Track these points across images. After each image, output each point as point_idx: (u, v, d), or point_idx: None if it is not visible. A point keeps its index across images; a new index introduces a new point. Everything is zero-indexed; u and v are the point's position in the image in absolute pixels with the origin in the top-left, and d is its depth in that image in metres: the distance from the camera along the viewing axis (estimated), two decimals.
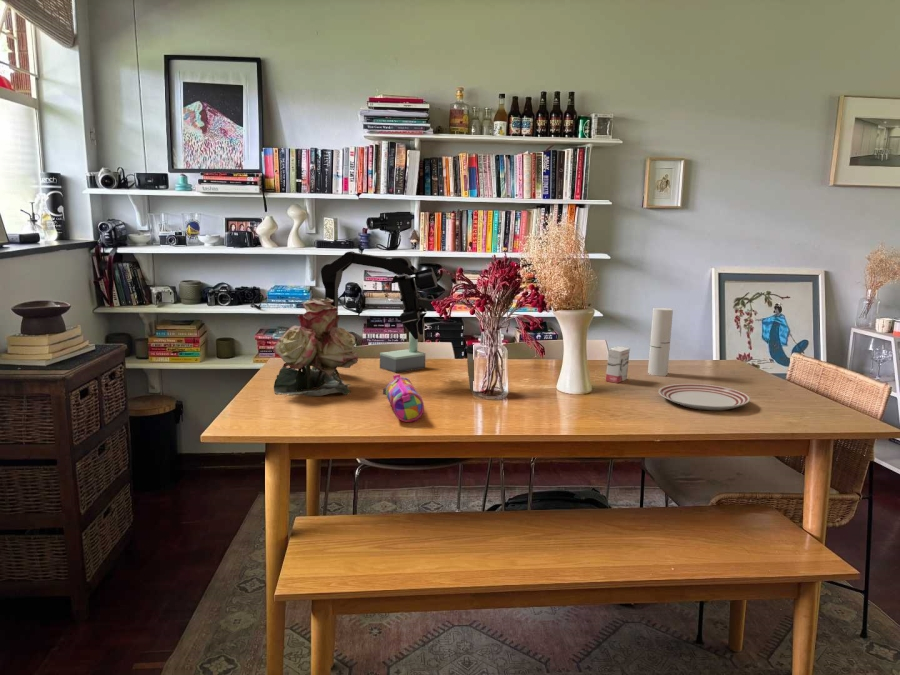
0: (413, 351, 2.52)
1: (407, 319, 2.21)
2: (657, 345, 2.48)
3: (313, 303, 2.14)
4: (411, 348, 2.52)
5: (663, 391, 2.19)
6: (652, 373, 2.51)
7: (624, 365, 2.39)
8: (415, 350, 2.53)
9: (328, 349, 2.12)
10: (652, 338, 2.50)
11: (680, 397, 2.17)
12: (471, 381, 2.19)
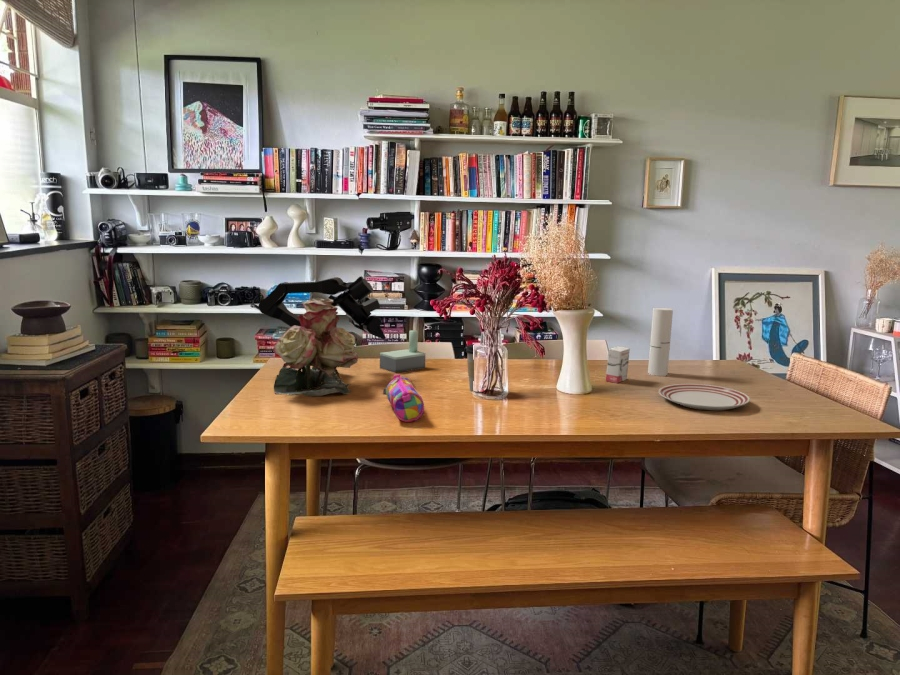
0: (413, 351, 2.52)
1: (374, 327, 2.29)
2: (657, 345, 2.48)
3: (313, 303, 2.14)
4: (411, 348, 2.52)
5: (663, 391, 2.19)
6: (652, 373, 2.51)
7: (624, 365, 2.39)
8: (415, 350, 2.53)
9: (328, 349, 2.12)
10: (652, 338, 2.50)
11: (680, 397, 2.17)
12: (471, 381, 2.19)
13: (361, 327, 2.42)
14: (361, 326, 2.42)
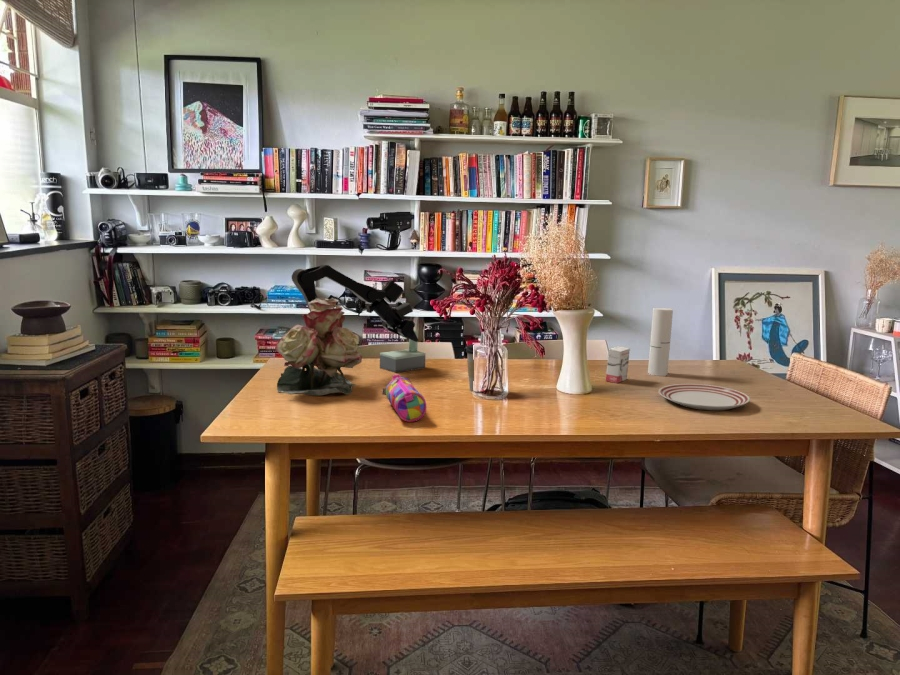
0: (413, 351, 2.52)
1: (408, 330, 2.41)
2: (657, 345, 2.48)
3: (317, 303, 2.14)
4: (411, 348, 2.52)
5: (663, 391, 2.19)
6: (652, 373, 2.51)
7: (624, 365, 2.39)
8: (415, 350, 2.53)
9: (331, 349, 2.12)
10: (652, 338, 2.50)
11: (680, 397, 2.17)
12: (471, 381, 2.19)
13: (394, 330, 2.54)
14: (394, 329, 2.54)
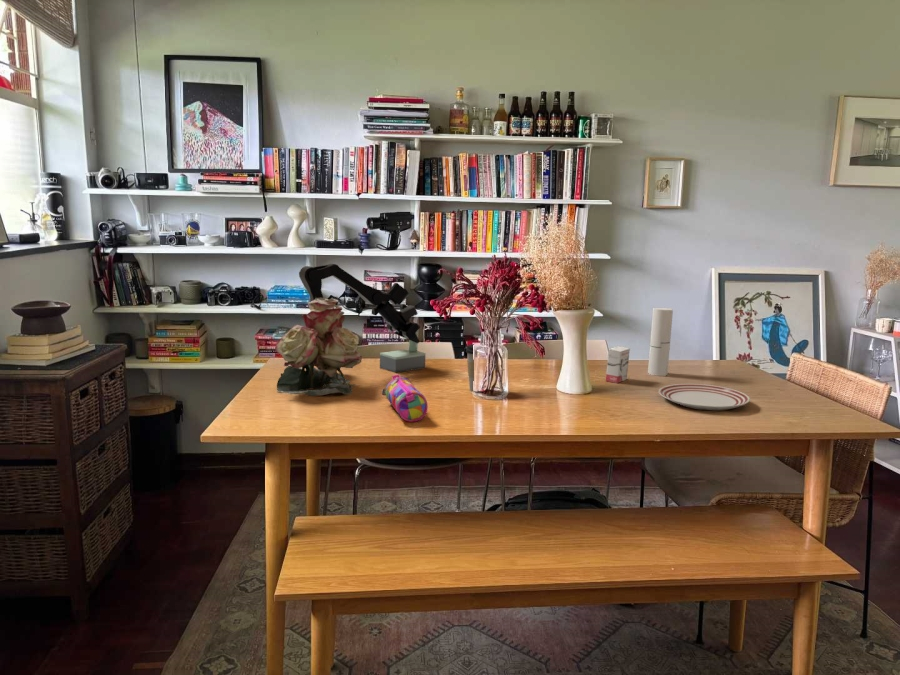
0: (413, 351, 2.52)
1: (413, 333, 2.42)
2: (657, 345, 2.48)
3: (317, 303, 2.14)
4: (411, 348, 2.52)
5: (663, 391, 2.19)
6: (652, 373, 2.51)
7: (624, 365, 2.39)
8: (415, 350, 2.53)
9: (330, 349, 2.12)
10: (652, 338, 2.50)
11: (680, 397, 2.17)
12: (471, 381, 2.19)
13: (402, 334, 2.53)
14: (402, 333, 2.53)
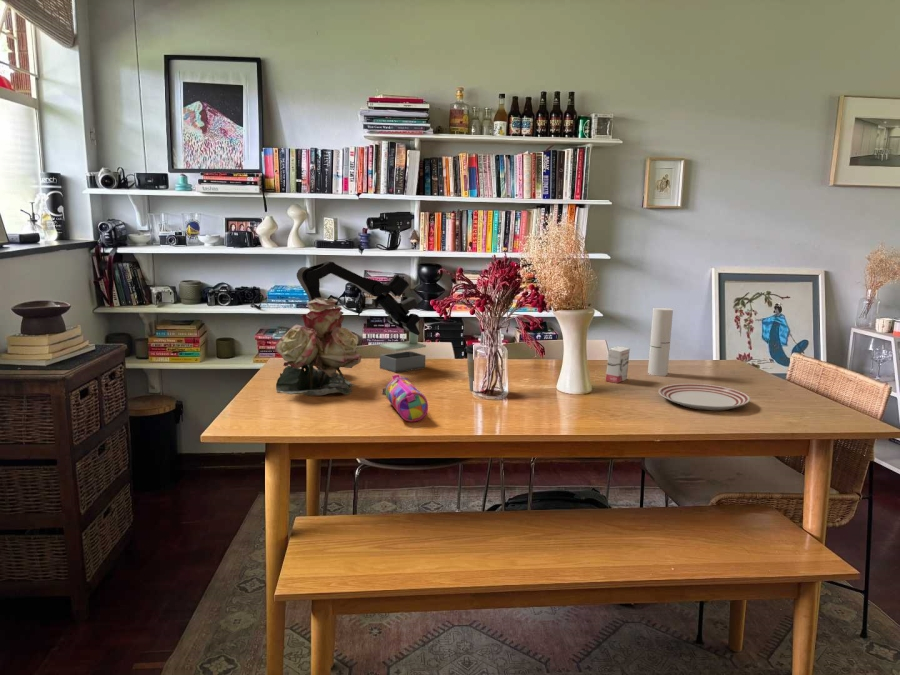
0: (413, 343, 2.52)
1: (413, 324, 2.42)
2: (657, 345, 2.48)
3: (316, 303, 2.14)
4: (411, 340, 2.52)
5: (663, 391, 2.19)
6: (652, 373, 2.51)
7: (624, 365, 2.39)
8: (415, 342, 2.52)
9: (330, 349, 2.12)
10: (652, 338, 2.50)
11: (680, 397, 2.17)
12: (471, 381, 2.19)
13: (402, 326, 2.52)
14: (402, 325, 2.52)
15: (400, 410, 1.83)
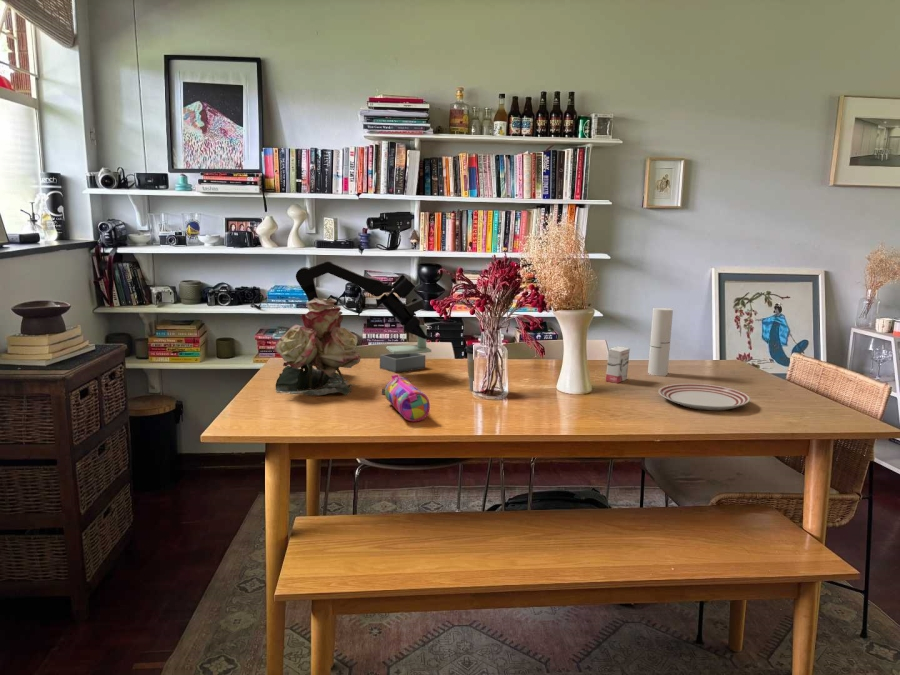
0: (420, 347, 2.40)
1: (412, 327, 2.30)
2: (657, 345, 2.48)
3: (315, 303, 2.14)
4: (418, 344, 2.40)
5: (663, 391, 2.19)
6: (652, 373, 2.51)
7: (624, 365, 2.39)
8: (422, 346, 2.40)
9: (329, 349, 2.12)
10: (652, 338, 2.50)
11: (680, 397, 2.17)
12: (471, 381, 2.19)
13: None
14: None
15: (402, 410, 1.83)
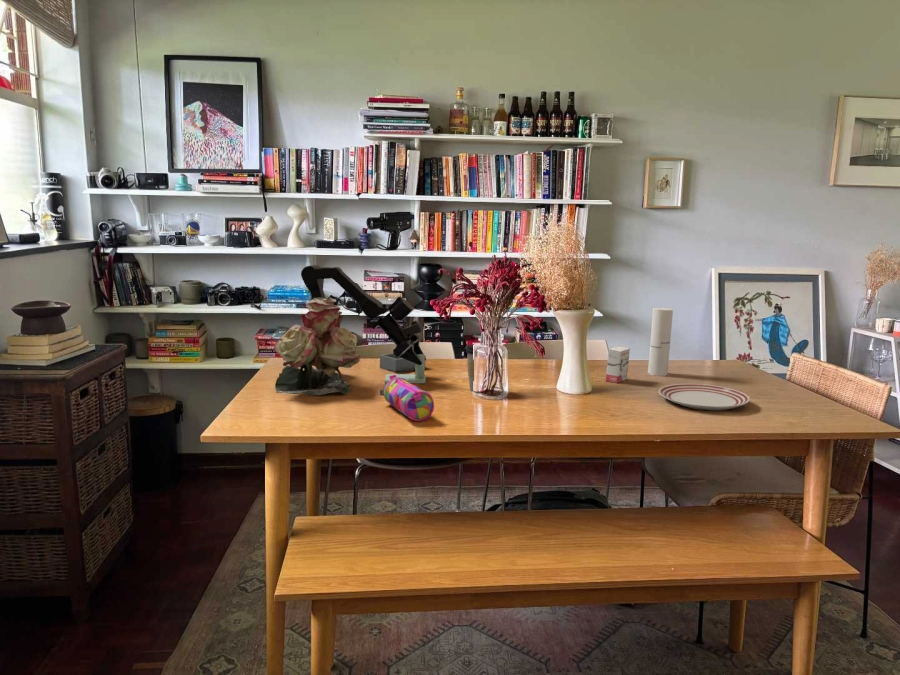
0: (417, 377, 2.32)
1: (400, 351, 2.23)
2: (657, 345, 2.48)
3: (315, 303, 2.15)
4: (415, 373, 2.32)
5: (663, 391, 2.19)
6: (652, 373, 2.51)
7: (624, 365, 2.39)
8: (419, 376, 2.31)
9: (329, 349, 2.13)
10: (652, 338, 2.50)
11: (680, 397, 2.17)
12: (471, 381, 2.19)
13: None
14: None
15: (408, 410, 1.84)
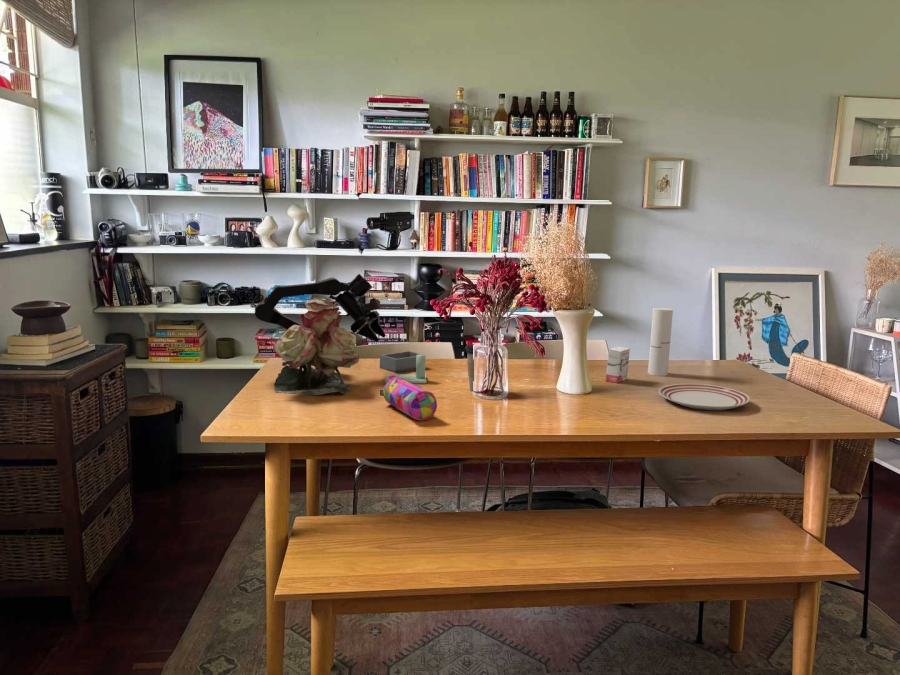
0: (417, 377, 2.32)
1: (357, 327, 2.27)
2: (657, 345, 2.48)
3: (314, 303, 2.15)
4: (416, 373, 2.32)
5: (663, 391, 2.19)
6: (652, 373, 2.51)
7: (624, 365, 2.39)
8: (420, 376, 2.32)
9: (328, 349, 2.13)
10: (652, 338, 2.50)
11: (680, 397, 2.17)
12: (471, 381, 2.19)
13: (371, 328, 2.41)
14: (371, 327, 2.41)
15: (412, 410, 1.84)
